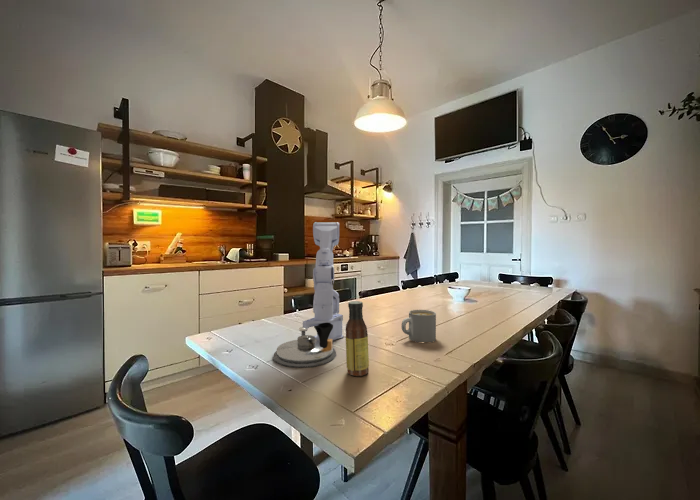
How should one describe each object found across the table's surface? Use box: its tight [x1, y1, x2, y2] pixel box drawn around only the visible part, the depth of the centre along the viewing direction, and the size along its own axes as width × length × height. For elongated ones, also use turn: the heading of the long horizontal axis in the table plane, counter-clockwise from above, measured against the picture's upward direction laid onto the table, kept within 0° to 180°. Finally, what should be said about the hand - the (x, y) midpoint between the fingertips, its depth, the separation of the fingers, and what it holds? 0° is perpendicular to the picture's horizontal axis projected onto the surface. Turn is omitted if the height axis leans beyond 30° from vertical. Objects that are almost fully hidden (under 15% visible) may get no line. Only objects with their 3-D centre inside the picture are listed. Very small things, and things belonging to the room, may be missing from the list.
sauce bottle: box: [345, 300, 370, 377], centre depth 86 cm, size 6×6×20 cm
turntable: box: [276, 339, 334, 363], centre depth 100 cm, size 18×18×4 cm
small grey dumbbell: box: [298, 326, 309, 336], centre depth 112 cm, size 3×3×5 cm
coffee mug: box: [401, 309, 437, 343], centre depth 116 cm, size 13×10×10 cm
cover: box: [297, 334, 315, 351], centre depth 100 cm, size 6×6×4 cm
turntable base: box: [273, 347, 337, 369], centre depth 100 cm, size 20×20×1 cm
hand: (323, 347), depth 97 cm, fingers closed, pressing on turntable
